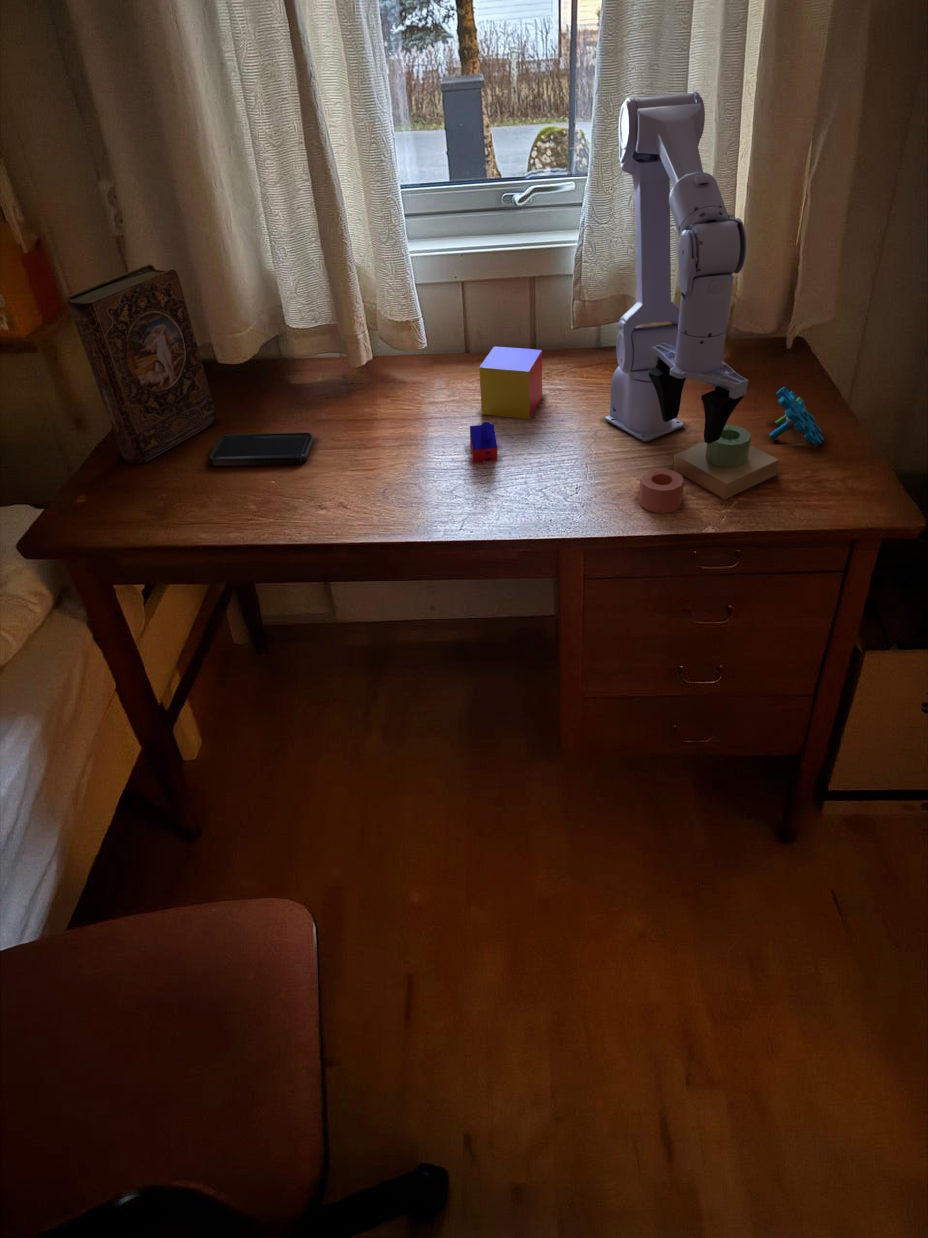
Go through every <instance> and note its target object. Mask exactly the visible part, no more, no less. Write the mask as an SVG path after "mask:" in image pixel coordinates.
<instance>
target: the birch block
mask: <svg viewBox="0 0 928 1238" xmlns="http://www.w3.org/2000/svg"><path fill="white" fill-rule="evenodd" d="M706 448H707V443H705V442H704V441H702V442H700V443H698V444H695V445H693V446H691V447H688V448H686V449H684V450H682V451H679V452H677V453H675V454H674V455H673V465H672V470H673V471H675V472H677V473H679V474H680V475H682V477H685V478H686V479H688V480H690V481H691V482H694V483H695V484H697V485H699V486H700V487H702V488H704V489H705V490H707V491H709V492H711V493H713V494H714V495H715V496H718V497H719V498H721V499H722V500H727V499H729V498H731V497H733V496H735V495H737V494H739V493H742V492H743V491H745V490H748V489H750V488H752V487H754V486H757V485H758V484H760V483H764V482H765V481H767V480H769V479H771V478H773V477H775V476H777V474H778V473H777V472H778V468H779V464H780V463H779V462H780V459H779V458H777V457H775V456H774V455H773V456H772V454H769V453H767V452H765V451H763V450H761V449H759V448H757V447H755V446H753V445H751V444H750V447H749V453H748V458H747V460H746V462H745V463H744V464H742V465H740V466H738V467H721V466H716V465H714V464H712V463H710V462H709V461H708V460H707V458H706Z"/></svg>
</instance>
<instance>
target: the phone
mask: <svg viewBox="0 0 928 1238" xmlns="http://www.w3.org/2000/svg"><path fill="white" fill-rule="evenodd" d="M314 443H315V440H314V435H313V433H311V432H276V433H240V434H239V433H238V434H237V433H236V434H224V435H221V436H220V437H219V438H218V440H217V442H216V444H215V446H214V447H213V449H212V450H211V452H210V454H209V456H208V458H209V461H210V462H209V463H210V464H211V466H213V467H214V466H215V467H226V466H227V467H229V466H274V465H275V466H277V465H280V466H281V465H301V464H304V463H305V462H306V461H307V460H308V458H309V455H310V452H311V450H312V447H313V445H314Z"/></svg>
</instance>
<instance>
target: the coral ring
mask: <svg viewBox="0 0 928 1238" xmlns="http://www.w3.org/2000/svg"><path fill="white" fill-rule="evenodd" d="M683 477H684V476H683V475H681V474H680V473H678V472H676V471H674V470H673V469H669V468H668V469H667V468H653V469H650V470H647V471H646V472H645V471H644V473H643V474H642V475H641V477H640V483H639V492H638V493H639V495H638V502H639V505H640V507H642V508H644V509H645V510H646V511H648V512H653V513H658V514H663V513H671V512H673V511H676V510H678V509H679V508H680V506H681V504H682V501H683V492H684V484H685V480H684V478H683Z"/></svg>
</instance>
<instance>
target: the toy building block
mask: <svg viewBox="0 0 928 1238" xmlns="http://www.w3.org/2000/svg"><path fill="white" fill-rule="evenodd" d="M497 442H498V441H497V435H496V427H495V423H491V422H489V421H483V422H481V424H477V425H469V445H470V451H471V457H472V464H480V463H488V462H498V443H497Z"/></svg>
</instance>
